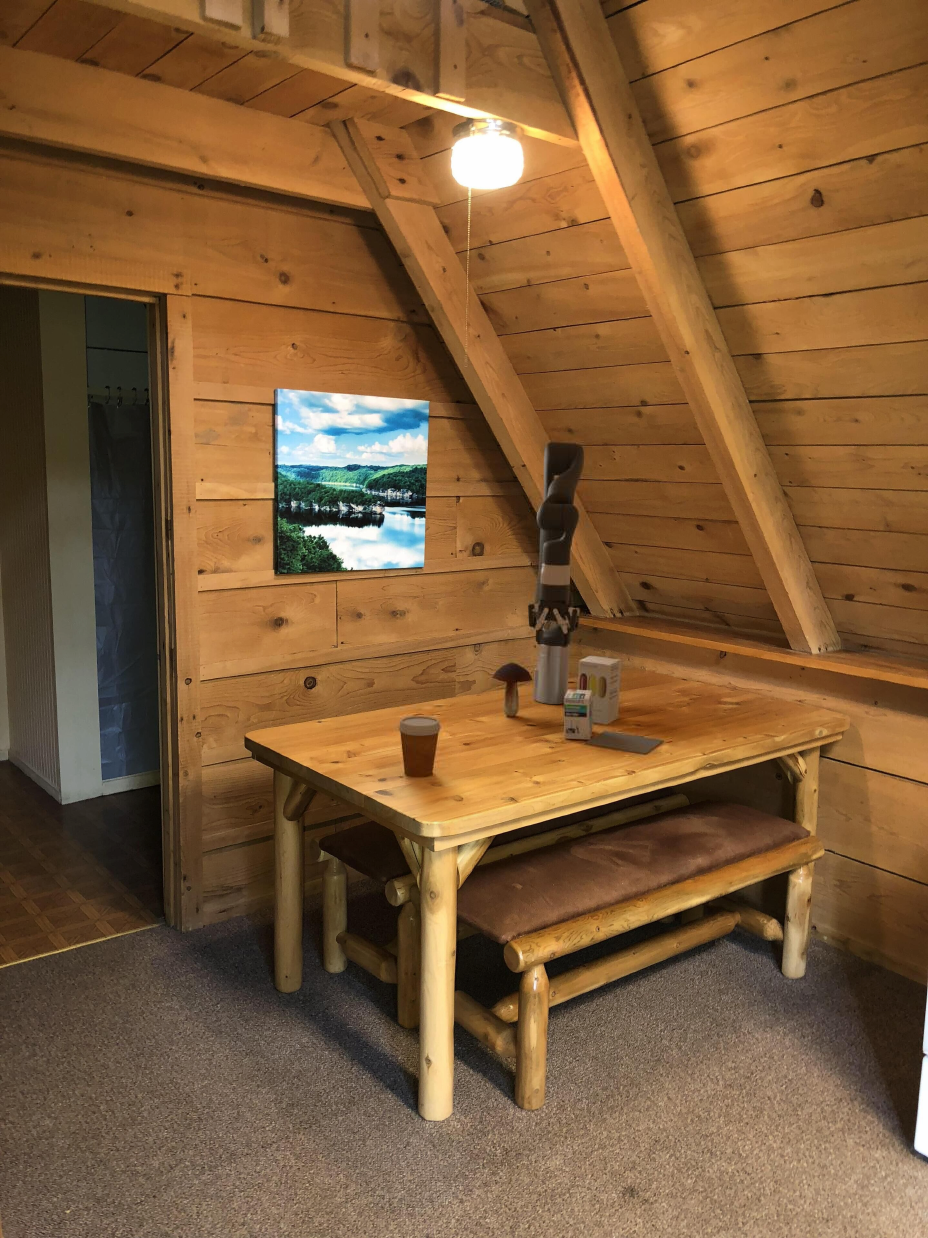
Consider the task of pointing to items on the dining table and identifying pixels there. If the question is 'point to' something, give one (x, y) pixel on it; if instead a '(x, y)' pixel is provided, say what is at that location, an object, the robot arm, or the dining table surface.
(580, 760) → the dining table surface
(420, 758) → the disposable coffee cup
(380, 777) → the dining table surface
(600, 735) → the mat
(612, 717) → the supplement box
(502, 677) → the decorative mushroom
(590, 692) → the light bulb box
